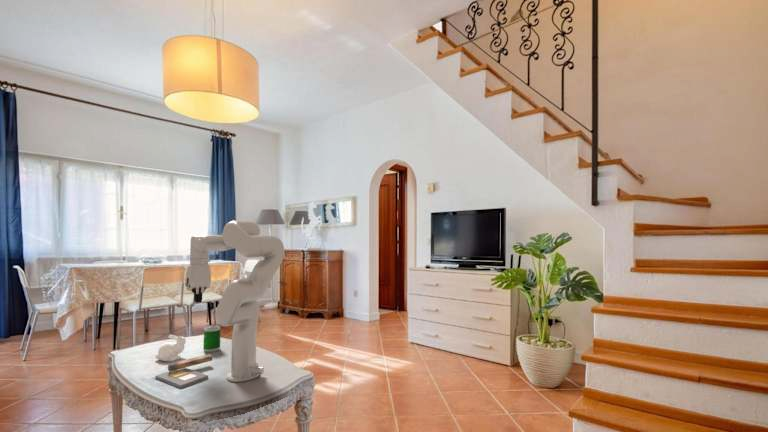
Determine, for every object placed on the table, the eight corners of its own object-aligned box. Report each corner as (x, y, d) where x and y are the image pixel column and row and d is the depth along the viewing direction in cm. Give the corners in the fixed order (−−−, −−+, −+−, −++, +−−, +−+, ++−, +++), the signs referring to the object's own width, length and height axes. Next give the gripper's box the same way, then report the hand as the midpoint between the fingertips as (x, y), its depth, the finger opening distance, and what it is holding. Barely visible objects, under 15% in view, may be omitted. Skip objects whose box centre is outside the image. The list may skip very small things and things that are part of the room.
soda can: (223, 348, 180) (223, 324, 180) (213, 353, 172) (214, 328, 173) (209, 347, 181) (210, 324, 182) (199, 352, 174) (200, 327, 174)
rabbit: (185, 354, 170) (186, 329, 171) (183, 361, 162) (184, 334, 162) (156, 358, 166) (157, 332, 166) (152, 365, 157) (153, 337, 158)
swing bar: (208, 358, 158) (209, 354, 158) (212, 360, 156) (212, 355, 156) (166, 369, 146) (166, 364, 146) (169, 371, 143) (169, 366, 143)
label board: (208, 378, 143) (208, 372, 143) (180, 388, 133) (180, 382, 133) (182, 369, 152) (182, 364, 152) (155, 378, 142) (155, 372, 142)
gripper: (209, 260, 171) (208, 299, 170) (178, 262, 158) (176, 304, 157) (219, 261, 167) (217, 300, 166) (187, 263, 154) (186, 306, 153)
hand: (198, 302), depth 162 cm, fingers closed
